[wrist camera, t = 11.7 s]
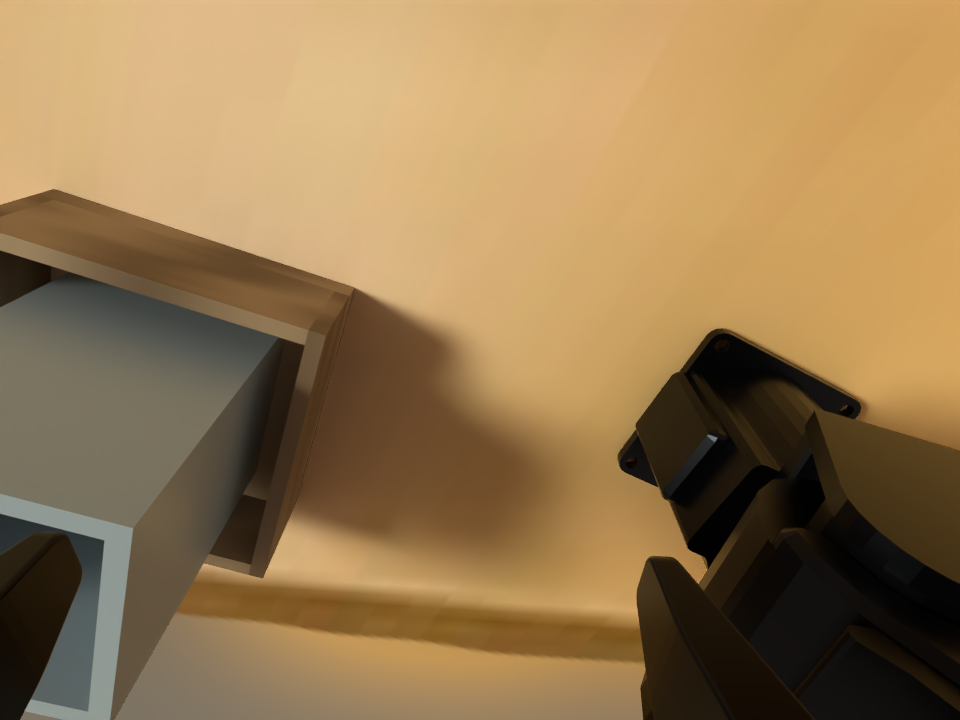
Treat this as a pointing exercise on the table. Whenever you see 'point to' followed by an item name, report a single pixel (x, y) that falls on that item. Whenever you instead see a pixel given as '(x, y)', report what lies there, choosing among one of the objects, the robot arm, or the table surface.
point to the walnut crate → (209, 290)
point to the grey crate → (123, 463)
